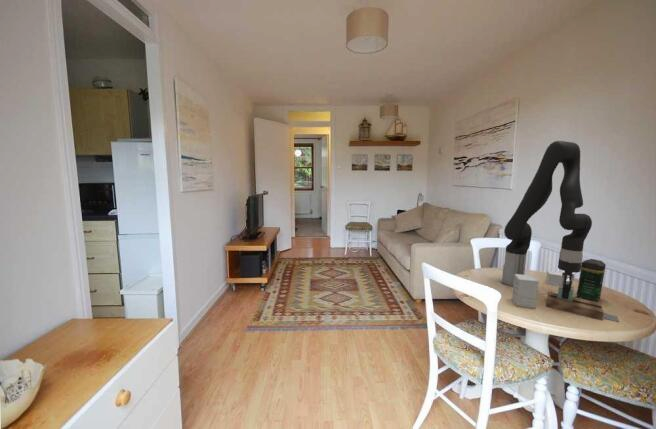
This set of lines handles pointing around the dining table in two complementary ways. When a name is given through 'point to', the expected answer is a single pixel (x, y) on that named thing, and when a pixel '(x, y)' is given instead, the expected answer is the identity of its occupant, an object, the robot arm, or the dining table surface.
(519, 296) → the supplement box
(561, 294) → the stub
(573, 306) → the wooden slotted block
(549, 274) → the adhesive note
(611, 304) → the dining table surface
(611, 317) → the mat
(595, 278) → the coffee jar
